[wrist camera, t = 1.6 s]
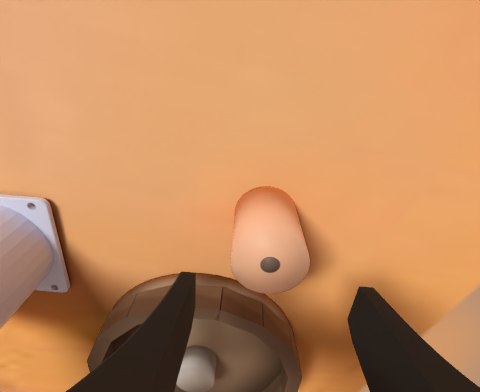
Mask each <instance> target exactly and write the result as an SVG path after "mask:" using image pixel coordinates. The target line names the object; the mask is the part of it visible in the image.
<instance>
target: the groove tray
mask: <svg viewBox="0 0 480 392" xmlns="http://www.w3.org/2000/svg"><path fill="white" fill-rule="evenodd" d="M178 275H179V274H172V275H166V276H161V277H158V278H155V279H151V280H148V281H146V282H144V283H142V284H139V285H137V286H136V287H134V288H133V289H131V290H129V291H128V292H127V293H126V294H125V295H123V296H122V297H121V298H120V299H119V301H118V302H117V303H116V304H115V306H114V308H113V309H112V311H111V312H110V313H109V315H108V317H107V319H106V321H105V323H104V325H103V327H102V329H101V330H100V332H99V334H98V336H97V339H96V341H95V343H94V346H93V348H92V350H91V353H90V355H89V357H88V360H87V363H88V367H89V370H90V373H91V372H92V371H93V370H94V369H96V368H97V367H98V366H99V365H100V364H102V363H103V362H104V361H105V360H106V359H107V358H108V357H110V356H111V355H112V354H113V353H114V352H115V351H116V350H117V349H118V348H119V347H120V346H121V345H122V344H123V343H124V342H125V341H126V340H127V339H128V338H129V337H130V336H131V335H132V334H133V333H134V332H135V331H136V330H137V329H138V328H139V327H140V326H141V325H142V323H143V322H144V321H145V320H146V319H147V318H148V316H149V315H150V314H151V313H152V312H153V311H154V309H155V308H156V307H157V305H158V304H159V303H160V302H161V300H162V299H163V298H164V296H165V295H166V294H167V292H168V291H169V289H170V288H171V286H172V285H173V283H174V282H175V280H176V279H177V277H178ZM301 378H302V376H301V370H300V363H299V357H298V351H297V349H296V346H295V342H294V335H293V331H292V327H291V325H290V323H289V320H288V318H287V317H286V315H285V314H284V312H283V311H282V310H281V309H280V308H279V306H278V305H277V304H276V303H275V302H274V301H272V300H271V299H270V298H269V297H267V296H266V295H265V294H263V293H259V292H255V291H252V290H250V289H248V288H246V287H244V286H243V285H242V284H240V283H239V282H238V281H236V280H233V279H230V278H226V277H222V276H218V275H211V274H203V273H196V296H195V311H194V317H193V323H192V329H191V333H190V336H189V340H188V343H187V347H186V351H185V354H184V358H183V361H182V365H181V368H180V372H179V375H178V379H177V383H176V387H175V391H174V392H298V388H299V385H300V381H301Z"/></svg>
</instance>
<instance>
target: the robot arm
mask: <svg viewBox="0 0 480 392" xmlns="http://www.w3.org/2000/svg"><path fill="white" fill-rule="evenodd" d="M31 203H33V204H34V205H35V206H33V205H32V204H31ZM69 288H70V282H69V278H68V274H67V270H66V266H65V262H64V258H63V254H62V250H61V246H60V242H59V238H58V234H57V230H56V226H55V222H54V218H53V214H52V210H51V206H50V203H49V202H48V201H47V200H46V199H44V198H39V197H27V196H15V195H3V194H0V329H1V328H2V327H3V326H4V325H5V323H6V322H7V321H8V320H9V319H10V318H11V317H12V315H13V314H14V313H15V312H16V311H17V310H18V308H19V307H20V306H21V305H22V304H23V303H24V302H25V300H26V299H27V298H28V297H29V296H30V295H31V294H32V292H33V291H34V290H37V291H50V292H67V291H68V290H69ZM195 296H196V273H191V272H181V273H179V275H178V277H177V279H176V280H175V282H174V283H173V285H172V286H171V288H170V289H169V291H168V292H167V294H166V295H165V296H164V298H163V299H162V300H161V302H160V303H159V304H158V305H157V307H156V308H155V309H154V311H153V312H152V313H151V314H150V315H149V316H148V318H147V319H146V320H145V321H144V322H143V323H142V325H141V326H140V327H139V328H138V329H137V330H136V331H135V332H134V333H133V334H132V335H131V336H130V337H129V338H128V339H127V340H126V341H125V342H124V343H123V344H122V345H121V346H120V347H119V348H118V349H117V350H116V351H115V352H114V353H113V354H112V355H111V356H110V357H108V358H107V359H106V360H105V361H104V362H103V363H102V364H100V365H99V366H98V367H97V368H96V369H94V370H93V371H92V372H91V373H89V374H88V375H87V376H86V377H84V378H83V379H82V380H81V381H79V382H78V383H77V384H75V385H74V386H73V387H71V388H70V389H69V390H67V391H66V392H174V391H175V387H176V383H177V379H178V375H179V372H180V368H181V365H182V361H183V358H184V354H185V351H186V347H187V343H188V340H189V336H190V333H191V329H192V323H193V317H194V311H195ZM348 323H349V328H350V333H351V337H352V341H353V345H354V348H355V351H356V354H357V356H358V359H359V362H360V365H361V368H362V371H363V373H364V376H365V379H366V382H367V385H368V387H369V390H370V392H480V387H478V386H477V385H476V384H474V383H473V382H472V381H470V380H469V379H468V378H467V377H465V376H464V375H463V374H462V373H460V372H459V371H458V370H457V369H455V368H454V367H453V366H452V365H451V364H450V363H449V362H447V361H446V360H445V359H444V358H443V357H441V356H440V355H439V354H438V353H437V352H436V351H435V350H434V349H433V348H432V347H431V346H430V345H428V344H427V343H426V342H425V341H424V340H423V339H422V338H421V337H420V336H419V335H418V334H417V333H416V332H415V331H414V330H413V329H412V328H411V327H410V326H409V325H408V324H407V323H406V322H405V321H404V320H403V319H402V318H401V317H400V316H399V315H398V314H397V313H396V311H395V310H394V309H393V308H392V307H391V306H390V305H389V304H388V303H387V302H386V301H385V300H384V299H383V298H382V297H381V295H380V294H379V293H378V292H377V291H376V290H375V289H374V288H370V287H359V288H358V291H357V294H356V297H355V300H354V302H353V305H352V308H351V311H350V314H349V316H348Z"/></svg>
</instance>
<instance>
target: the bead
mask: <svg viewBox="0 0 480 392" xmlns="http://www.w3.org/2000/svg"><path fill="white" fill-rule="evenodd" d="M309 267H310V257H309V253H308V250H307V246H306V243H305V239H304V235H303V232H302V228H301V225H300V221H299V218H298V214H297V211H296V207H295V204H294V202H293V200H292V199H291V197H290V196H289V195H288V194H287V193H285V192H284V191H282V190H280V189H278V188H274V187H266V186H265V187H258V188H254V189H252V190H250V191H248V192H247V193H245V194H244V195H243V196H242V197H241V198H240V199H239V201H238V203H237V205H236V208H235V217H234V229H233V241H232V253H231V270H232V273H233V275H234V277H235V278H236V279H237V281H238V282H239V283H240V284H242V285H243V286H244V287H246V288H248V289H250V290H252V291H255V292H259V293H265V294H273V293H280V292H284V291H287V290H289V289H291V288H293V287H295V286H296V285H298V284H299V283H300V282H301V281H302V280H303V279H304V278H305V276H306V275H307V273H308V270H309Z"/></svg>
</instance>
